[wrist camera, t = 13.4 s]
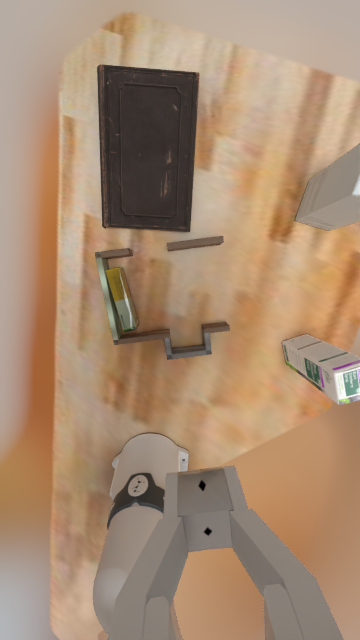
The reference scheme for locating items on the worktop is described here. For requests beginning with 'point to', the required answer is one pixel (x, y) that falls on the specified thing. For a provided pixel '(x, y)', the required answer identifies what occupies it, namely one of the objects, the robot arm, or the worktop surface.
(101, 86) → the hardcover book
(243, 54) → the worktop surface
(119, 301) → the medication box
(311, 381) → the syrup box
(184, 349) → the trap corral
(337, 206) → the supplement box
